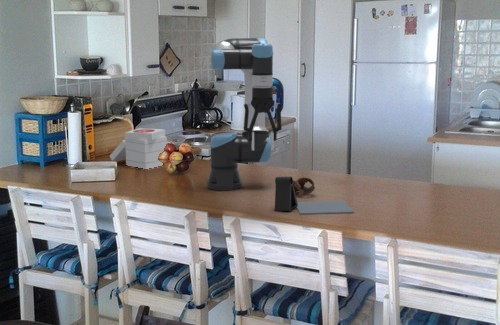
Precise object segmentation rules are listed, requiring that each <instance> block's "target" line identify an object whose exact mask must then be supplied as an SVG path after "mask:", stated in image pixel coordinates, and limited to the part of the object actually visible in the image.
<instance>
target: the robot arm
mask: <svg viewBox="0 0 500 325" xmlns="http://www.w3.org/2000/svg"><path fill="white" fill-rule="evenodd" d="M268 42H269V41H268V40H267V39H265V38H263V37H262V38H259V37H258V38H257V37H248V38H247V37H246V38H245V37H243V38H242V37H240V38H239V37H238V38H234V37H233V38H226V39H224V40H222V41H219V42H217V43H216V44H215V45H214V46H213V49H211V50H210V51H211V52H210V58H211V59H210V60H211V62H210V63H211V64H210V65H211V66H210V67H211V69H212V70H217V71H222V70H223V71H224V70H240V71H241V72H243V76H244V79H243V80H244V82H243V84H244V104H243V107H244V117H243V118H244V120H243V130H242V131H241V135H238V133H237V132H229V131H228V132H222V133H219V134H218V133H217V134H214V135H213V136H211V137H210V138H211V139H210V145H209V149H210V171H209V174H208V178H207V181H206V186H207V187H206V188H208V189H210V190H214V191H232V190H233V191H234V190H237V189H241V188H242V186H243V181H242V178H241V176H240V175H241V174H240V172H239V170H238V169H239V168H238V165H239V164H240V163H241V164H244V163H247V164H248V163H249V164H250V163H251V164H252V163H255V164H257V163H258V164H259V163H268V162H269V161H270V160H271V155H272V151H274V148H275V145H274V142H276V141H277V136H278V134H277V133H278V132H279V131H281V130H282V129H283V128H282V118H281V108H282V107H281V106H282V104H281V103H280V102H275V101H274V99H273V98H274V95H273V92H274V89H273V87H274V86H273V82H274V81H273V79H274V78H273V75H274V73H273V63H274V62H273V60H274V59H273V58H274V56H273V55H274V52H273V51H274V50H273V45H272V44H271V43H268ZM272 86H273V87H272ZM273 106H274V109H275V114H276V125H277V127H276V125H275V121H274V119H273V115H272V112H271V109H272V108H273ZM266 114H267V118H268V121H269V123H270V125H271V126H270V127H271V129H272V131H269V130H268V129H267V127H266Z"/></svg>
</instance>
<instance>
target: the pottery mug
mask: <svg viewBox="0 0 500 325" xmlns="http://www.w3.org/2000/svg"><path fill="white" fill-rule="evenodd" d="M308 182H309V183H310V186H309V187H307V186H305V184H306V183H308ZM293 186H294V190H295V194H298V195H297V196H298V197H299V198H303V196H306V195H309V194H312V193H313V192H314V191H315V189H316V188H315V183H314V181H313V180H312V179H311V178H310V177H305V176H301V177H299V178H297V179H296V180H294V179H293Z"/></svg>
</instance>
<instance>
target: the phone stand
mask: <svg viewBox="0 0 500 325" xmlns="http://www.w3.org/2000/svg"><path fill="white" fill-rule="evenodd" d="M293 180H294V179H293V176H276V177H275V179H274V182H275V193H274V197H275V198H274V211H275V212H290V211H292V210H294V209H295V208H296V206H298V203H297V202H298V200H297V193H295V190H294V186H293Z"/></svg>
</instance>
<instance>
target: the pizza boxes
mask: <svg viewBox="0 0 500 325" xmlns="http://www.w3.org/2000/svg"><path fill="white" fill-rule="evenodd" d="M166 144H167V145H168V138H167V136H166V129H165V128H164V129H163V128H161V129H160V128H142V127H141V128H140V127H139V128H135V129H132V130H129V131H125V132H124V139H123V140H122V141H120V143H119V144H117V146H116V148H115V149H114V150H113V151H112V152H111V153H110V155H109V158H110V160H111V161H112V162H114V161H119V160H125V165H128V166H133V167H138V168H143V169H142V170H144V169H148V170H150V169H149V168H152V169H155V168H154V167H157V168H159V167H158V166H162V165H163V163H162V162H160V161H159V160H158V156H159V154H160V153H162V152H163V151H164V148H165V146H166ZM133 167H132V168H133ZM162 167H163V166H162ZM138 168H137V169H138Z"/></svg>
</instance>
